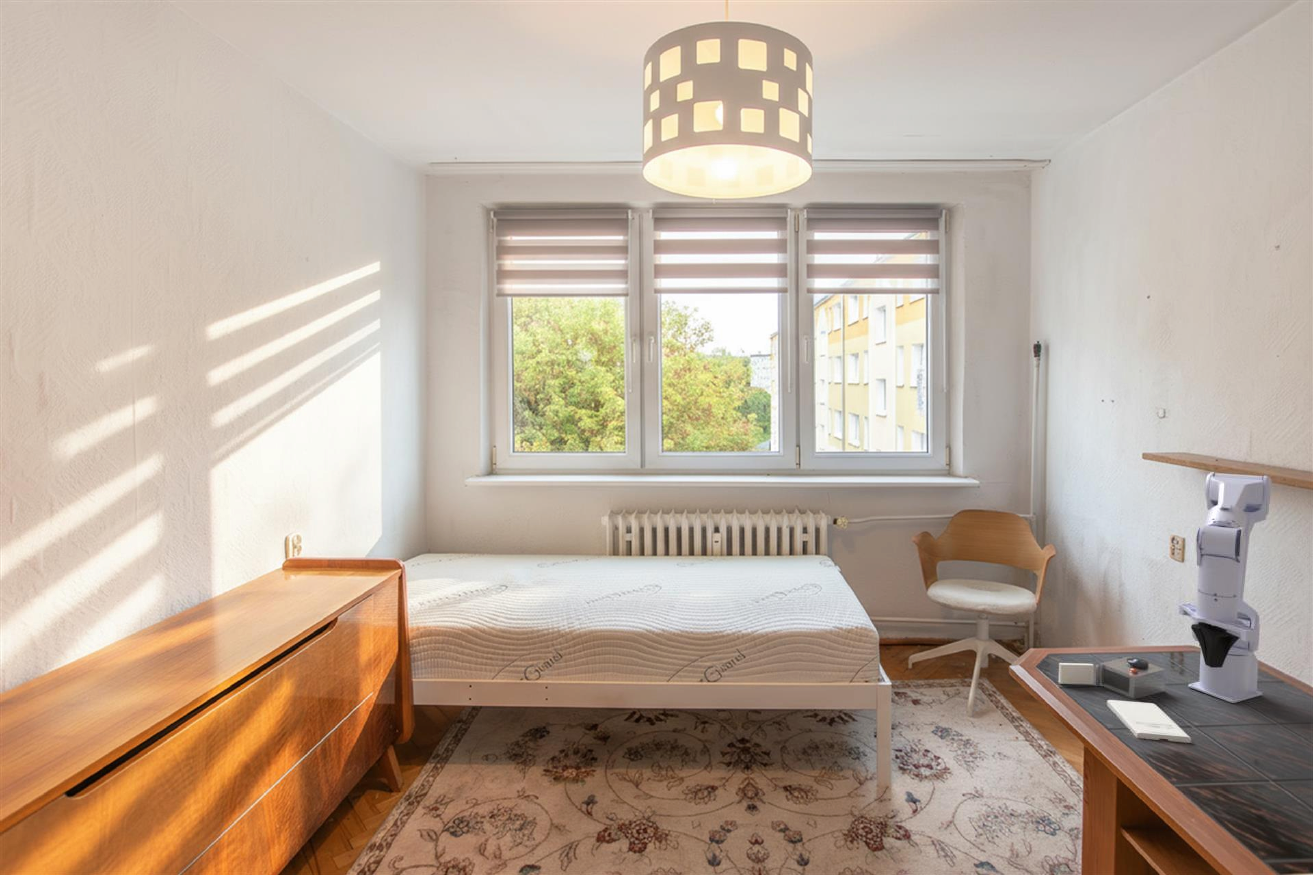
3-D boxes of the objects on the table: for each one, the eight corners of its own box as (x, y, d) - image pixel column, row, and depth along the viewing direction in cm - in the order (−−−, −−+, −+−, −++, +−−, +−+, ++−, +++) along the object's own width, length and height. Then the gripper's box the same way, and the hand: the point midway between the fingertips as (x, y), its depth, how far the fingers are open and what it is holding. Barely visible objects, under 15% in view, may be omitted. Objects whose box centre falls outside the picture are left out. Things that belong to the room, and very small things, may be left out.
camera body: (1129, 677, 141) (1130, 650, 141) (1164, 691, 135) (1165, 663, 134) (1098, 684, 138) (1099, 657, 138) (1133, 699, 132) (1134, 670, 131)
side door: (1100, 685, 137) (1101, 666, 137) (1061, 684, 138) (1062, 665, 138) (1097, 682, 139) (1097, 663, 138) (1058, 681, 139) (1059, 662, 139)
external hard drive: (1155, 711, 128) (1191, 745, 116) (1106, 707, 130) (1136, 740, 117) (1155, 703, 128) (1191, 736, 115) (1106, 699, 129) (1137, 731, 117)
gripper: (1164, 581, 129) (1161, 650, 130) (1230, 605, 115) (1226, 683, 116) (1201, 580, 129) (1197, 650, 130) (1271, 605, 115) (1266, 682, 116)
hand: (1213, 665), depth 123 cm, fingers closed
